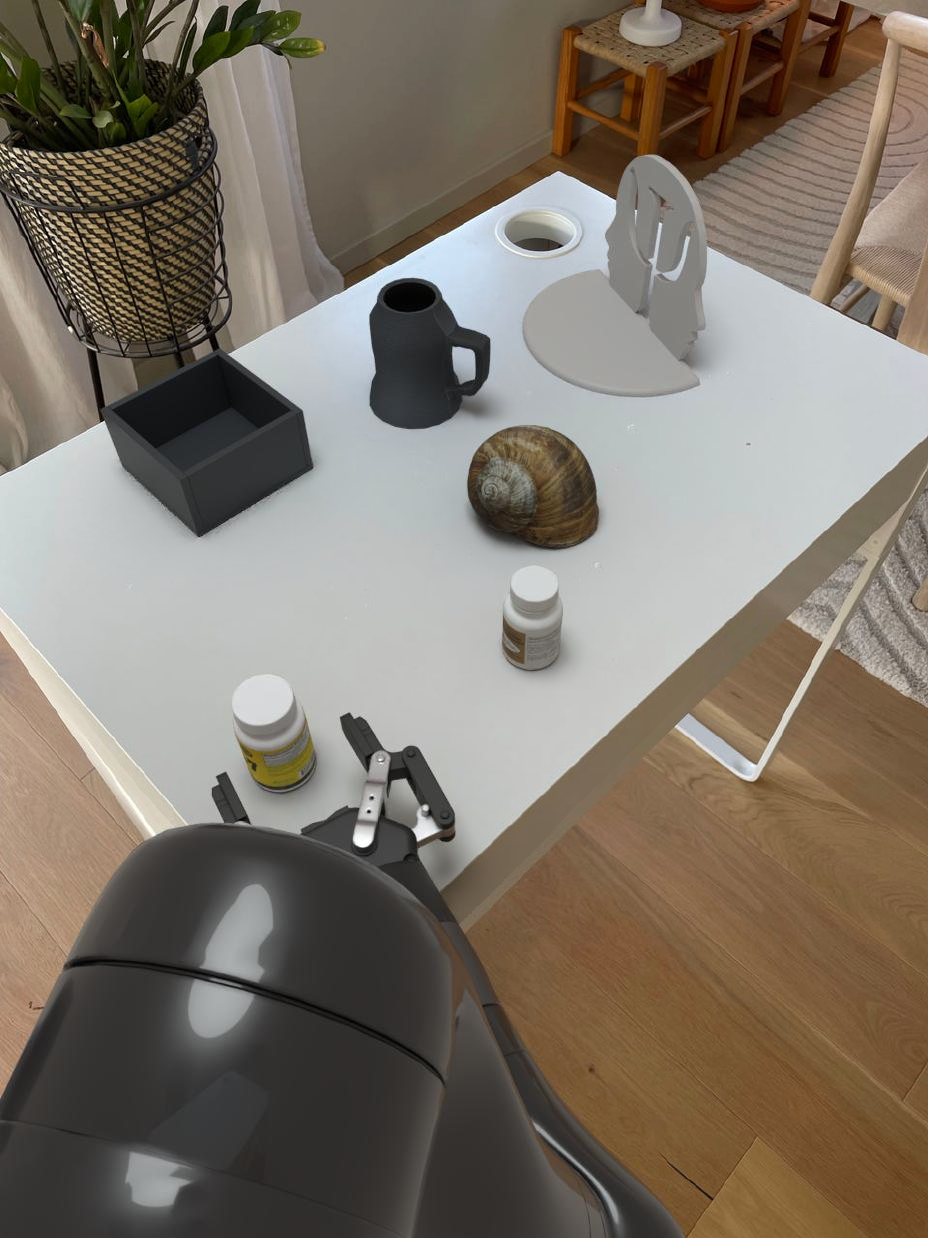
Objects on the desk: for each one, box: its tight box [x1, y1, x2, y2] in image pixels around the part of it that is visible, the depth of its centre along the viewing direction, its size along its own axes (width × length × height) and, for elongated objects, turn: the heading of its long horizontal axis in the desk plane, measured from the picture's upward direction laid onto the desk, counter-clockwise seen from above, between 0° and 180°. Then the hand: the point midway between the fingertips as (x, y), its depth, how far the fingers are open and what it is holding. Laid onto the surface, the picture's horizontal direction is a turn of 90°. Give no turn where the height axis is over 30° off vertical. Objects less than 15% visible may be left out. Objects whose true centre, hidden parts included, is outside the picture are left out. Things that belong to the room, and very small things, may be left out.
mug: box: [368, 277, 492, 430], centre depth 88 cm, size 12×9×11 cm
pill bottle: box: [501, 565, 564, 671], centre depth 71 cm, size 4×4×8 cm
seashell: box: [466, 424, 600, 548], centre depth 79 cm, size 11×9×8 cm
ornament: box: [521, 154, 708, 398], centre depth 92 cm, size 22×13×17 cm, turn 22°
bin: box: [100, 348, 314, 538], centre depth 84 cm, size 12×12×7 cm
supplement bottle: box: [230, 673, 317, 793], centre depth 64 cm, size 5×5×8 cm
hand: (285, 749), depth 61 cm, fingers open, 8 cm apart
